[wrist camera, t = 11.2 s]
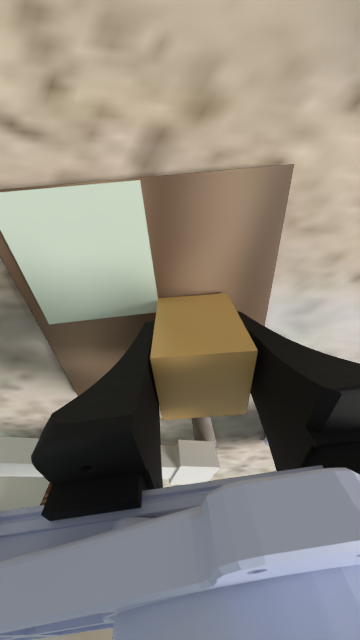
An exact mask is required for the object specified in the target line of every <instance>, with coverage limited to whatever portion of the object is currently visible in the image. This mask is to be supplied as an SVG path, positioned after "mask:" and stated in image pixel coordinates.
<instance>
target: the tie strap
mask: <svg viewBox="0 0 360 640" xmlns="http://www.w3.org/2000/svg"><path fill="white" fill-rule="evenodd" d="M38 440H39V438H22V437H2V436H0V476H9V477H44V476H43V475H42V474H41V473H40V472H38V471H37V470H36V468H35V467H34V466H33V464H32V462H31V455H32V453H33V451H34V449H35V447H36V445H37V442H38ZM161 464H162V479H169V484H194V483H201V482H208V481H209V480H210V479H211V477H212V476H213V475H214V474H215V472H216V471H217V470H218V469H219V468H220V466H219V462H218V458H217V453H216V449H215V444H214V442H211V441H194V440H178V441H177V443H176V445H175V446H174V445H161Z"/></svg>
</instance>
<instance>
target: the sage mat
mask: <svg viewBox="0 0 360 640" xmlns="http://www.w3.org/2000/svg"><path fill="white" fill-rule="evenodd" d="M0 230H1V232H2V234H3V236H4V238H5V240H6V242H7V244H8V246H9V248H10V250H11V252H12V254H13V255H14V257H15V259H16V261H17V263H18V265H19V267H20V269H21V271H22V273H23V275H24V277H25V279H26V281H27V283H28V284H29V286H30V288H31V290H32V292H33V294H34V296H35V298H36V300H37V302H38V304H39V306H40V308H41V310H42V311H43V313H44V315H45V317H46V319H47V321H48V323H49V324H57V323H66V322H75V321H84V320H92V319H101V318H110V317H119V316H128V315H137V314H145V313H154V312H156V311H157V303H158V296H157V289H156V282H155V276H154V269H153V262H152V256H151V249H150V243H149V236H148V229H147V223H146V216H145V209H144V203H143V196H142V190H141V183H140V180H135V181H123V182H112V183H101V184H89V185H78V186H66V187H55V188H44V189H32V190H21V191H10V192H0Z"/></svg>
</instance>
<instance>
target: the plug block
mask: <svg viewBox="0 0 360 640" xmlns="http://www.w3.org/2000/svg"><path fill="white" fill-rule="evenodd" d="M257 353H258V350H257V348H256V346H255V344H254V342H253V340H252V339H251V337H250V335H249V333H248V331H247V329H246V327H245V326H244V324H243V322H242V320H241V318H240V316H239V315H238V313H237V311H236V309H235V307H234V305H233V303H232V302H231V300H230V298H229V296H228V294H227V293H222V294H208V295H195V296H182V297H168V298H158V303H157V311H156V318H155V325H154V333H153V340H152V348H151V355H150V360H151V365H152V370H153V375H154V380H155V385H156V390H157V395H158V400H159V405H160V410H161V415H162V420H170V419H184V418H199V417H213V416H228V415H242V414H246V412H247V407H248V401H249V396H250V390H251V385H252V380H253V374H254V369H255V364H256V358H257Z"/></svg>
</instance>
